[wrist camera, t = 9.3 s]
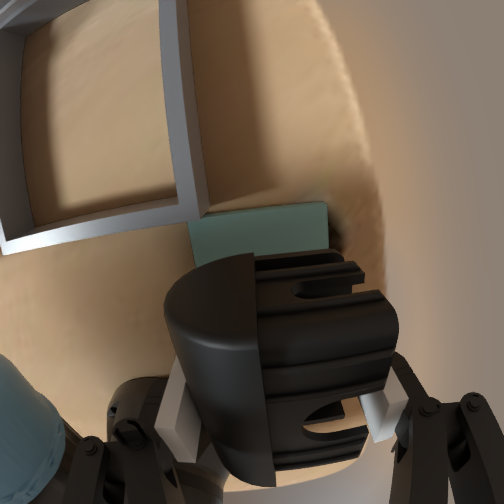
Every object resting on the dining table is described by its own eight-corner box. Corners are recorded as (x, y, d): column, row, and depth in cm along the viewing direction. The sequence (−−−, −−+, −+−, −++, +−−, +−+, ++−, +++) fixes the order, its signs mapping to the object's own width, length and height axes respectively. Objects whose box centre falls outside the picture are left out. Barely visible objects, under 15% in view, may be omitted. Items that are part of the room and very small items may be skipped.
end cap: (186, 252, 13) (134, 345, 6) (340, 236, 12) (415, 315, 6) (221, 398, 16) (214, 490, 10) (332, 386, 16) (357, 474, 9)
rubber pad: (325, 335, 22) (327, 342, 21) (217, 347, 22) (216, 354, 21) (322, 201, 18) (326, 203, 17) (190, 216, 18) (186, 220, 18)
